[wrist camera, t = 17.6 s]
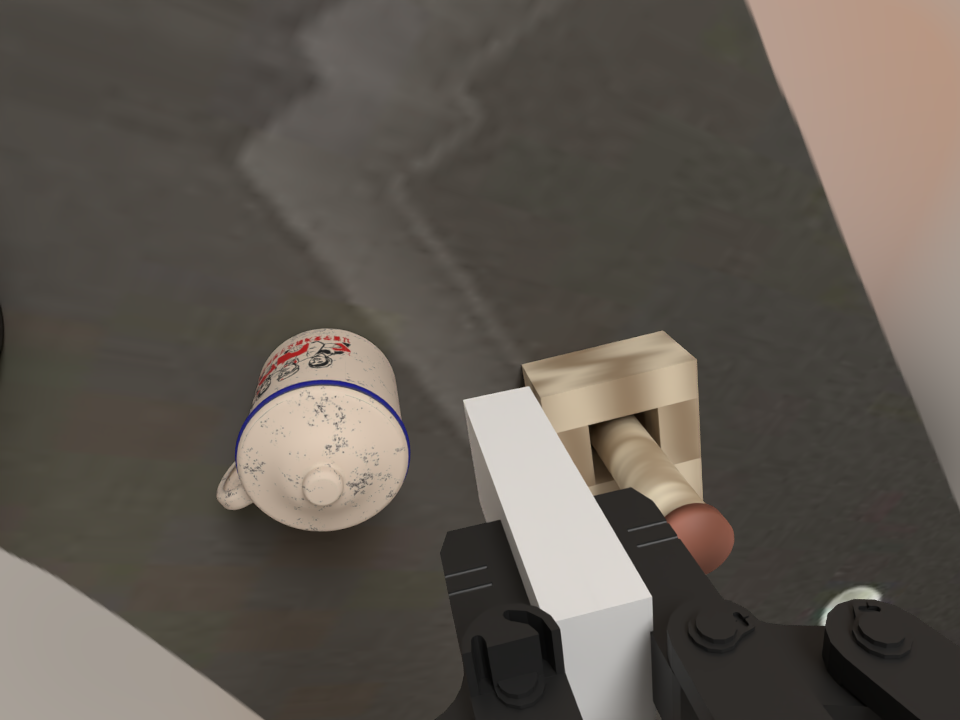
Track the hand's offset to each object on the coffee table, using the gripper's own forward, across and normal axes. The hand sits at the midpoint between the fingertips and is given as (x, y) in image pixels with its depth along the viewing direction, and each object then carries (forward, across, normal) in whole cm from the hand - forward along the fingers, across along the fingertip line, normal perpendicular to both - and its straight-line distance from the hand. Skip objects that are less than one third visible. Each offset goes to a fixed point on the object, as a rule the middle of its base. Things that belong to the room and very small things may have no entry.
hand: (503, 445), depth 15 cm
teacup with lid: (+28, -8, -11) cm, 31 cm away
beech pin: (+27, +11, -16) cm, 34 cm away
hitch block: (+27, +12, -22) cm, 37 cm away
